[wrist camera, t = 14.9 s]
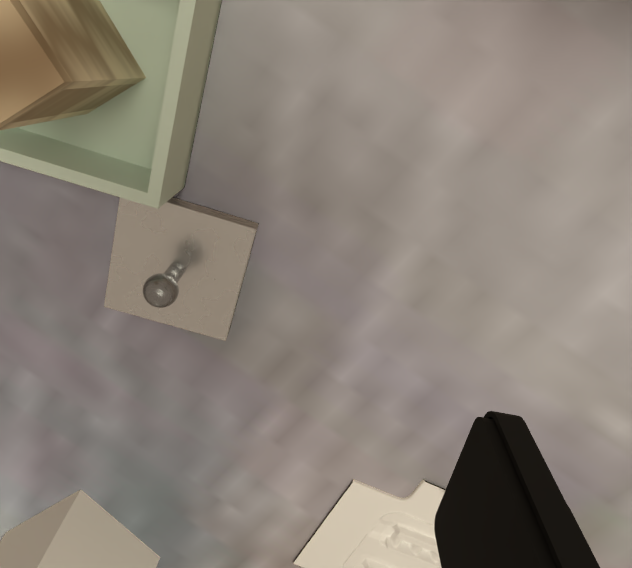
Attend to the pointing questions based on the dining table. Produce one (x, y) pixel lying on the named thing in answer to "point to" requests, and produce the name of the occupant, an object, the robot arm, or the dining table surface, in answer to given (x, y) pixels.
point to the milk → (74, 539)
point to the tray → (377, 530)
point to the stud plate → (179, 264)
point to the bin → (133, 109)
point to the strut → (59, 60)
